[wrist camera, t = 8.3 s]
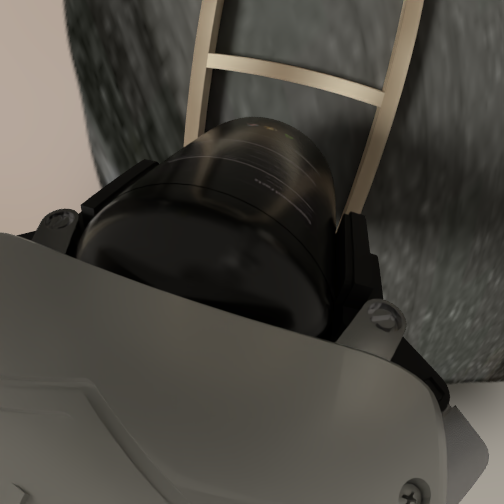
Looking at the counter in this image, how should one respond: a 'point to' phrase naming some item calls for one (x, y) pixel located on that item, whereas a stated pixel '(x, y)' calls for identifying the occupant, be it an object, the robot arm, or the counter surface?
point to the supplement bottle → (231, 227)
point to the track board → (382, 99)
